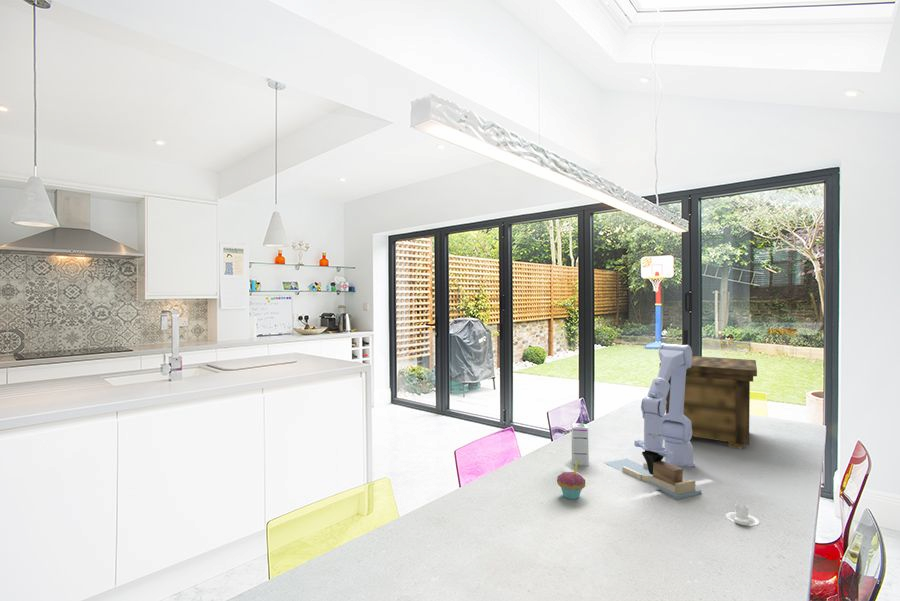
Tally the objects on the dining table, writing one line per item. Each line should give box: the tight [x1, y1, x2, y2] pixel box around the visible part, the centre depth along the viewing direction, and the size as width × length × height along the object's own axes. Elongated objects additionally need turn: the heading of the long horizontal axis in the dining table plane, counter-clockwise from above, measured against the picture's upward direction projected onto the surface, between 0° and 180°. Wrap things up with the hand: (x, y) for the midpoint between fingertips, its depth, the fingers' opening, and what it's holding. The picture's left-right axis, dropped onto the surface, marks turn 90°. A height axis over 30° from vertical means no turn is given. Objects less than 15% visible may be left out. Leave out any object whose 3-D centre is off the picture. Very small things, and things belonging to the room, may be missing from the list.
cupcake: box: [556, 459, 586, 500], centre depth 144 cm, size 9×8×12 cm
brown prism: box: [653, 460, 684, 486], centre depth 150 cm, size 4×8×6 cm, turn 24°
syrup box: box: [571, 422, 590, 467], centre depth 170 cm, size 6×6×14 cm
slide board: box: [604, 458, 702, 501], centre depth 158 cm, size 11×31×4 cm, turn 24°
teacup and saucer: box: [725, 502, 760, 527], centre depth 129 cm, size 9×8×4 cm
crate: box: [659, 355, 758, 449], centre depth 206 cm, size 35×35×33 cm
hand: (653, 473), depth 156 cm, fingers closed
